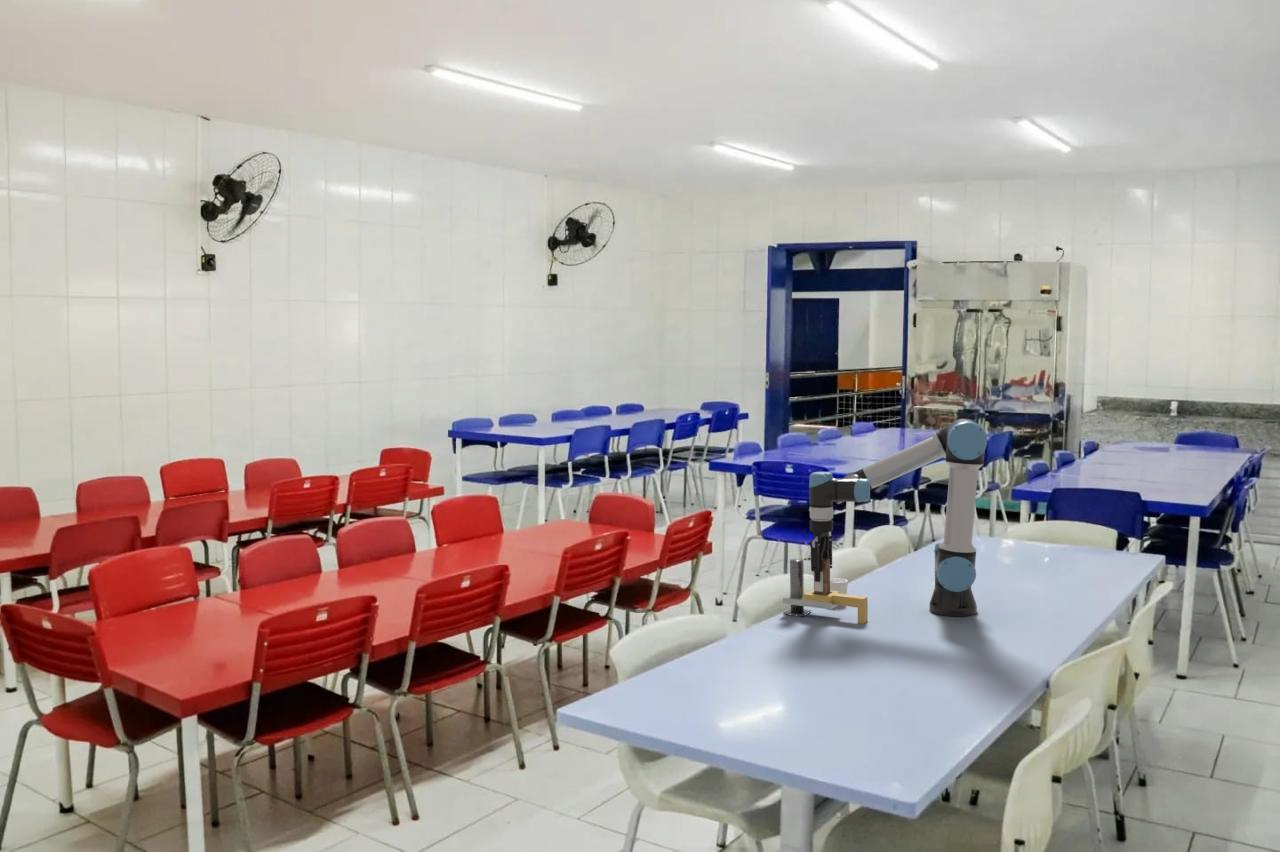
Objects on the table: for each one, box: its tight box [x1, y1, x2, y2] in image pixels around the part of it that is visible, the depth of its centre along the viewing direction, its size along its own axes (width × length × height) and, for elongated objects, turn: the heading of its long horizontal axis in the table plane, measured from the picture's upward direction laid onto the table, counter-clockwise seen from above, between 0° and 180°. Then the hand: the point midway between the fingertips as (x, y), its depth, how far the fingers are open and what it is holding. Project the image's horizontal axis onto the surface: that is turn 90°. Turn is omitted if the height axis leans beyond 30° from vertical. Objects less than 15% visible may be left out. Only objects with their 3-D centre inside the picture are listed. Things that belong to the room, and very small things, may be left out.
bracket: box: [804, 588, 869, 625], centre depth 345 cm, size 20×9×8 cm, turn 57°
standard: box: [782, 558, 839, 617], centre depth 349 cm, size 18×9×18 cm, turn 57°
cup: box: [830, 577, 849, 594], centre depth 365 cm, size 7×10×8 cm
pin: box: [813, 558, 831, 595], centre depth 347 cm, size 4×4×14 cm
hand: (822, 589), depth 347 cm, fingers open, 4 cm apart
